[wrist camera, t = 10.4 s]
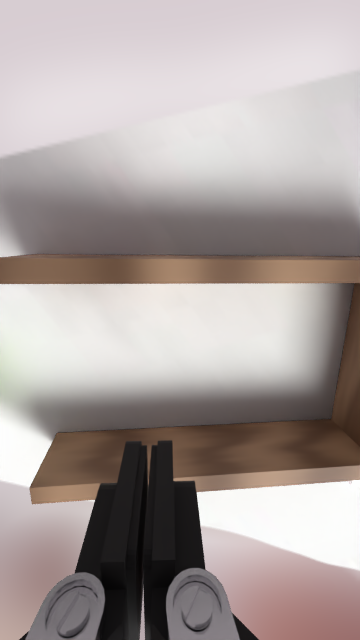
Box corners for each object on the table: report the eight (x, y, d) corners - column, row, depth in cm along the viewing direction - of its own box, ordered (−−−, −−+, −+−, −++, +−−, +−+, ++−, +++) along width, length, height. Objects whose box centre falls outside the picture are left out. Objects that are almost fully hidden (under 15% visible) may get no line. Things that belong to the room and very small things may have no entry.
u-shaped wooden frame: (374, 256, 20) (445, 260, 15) (342, 430, 24) (390, 477, 19) (35, 254, 18) (-8, 258, 13) (58, 446, 22) (32, 504, 17)
